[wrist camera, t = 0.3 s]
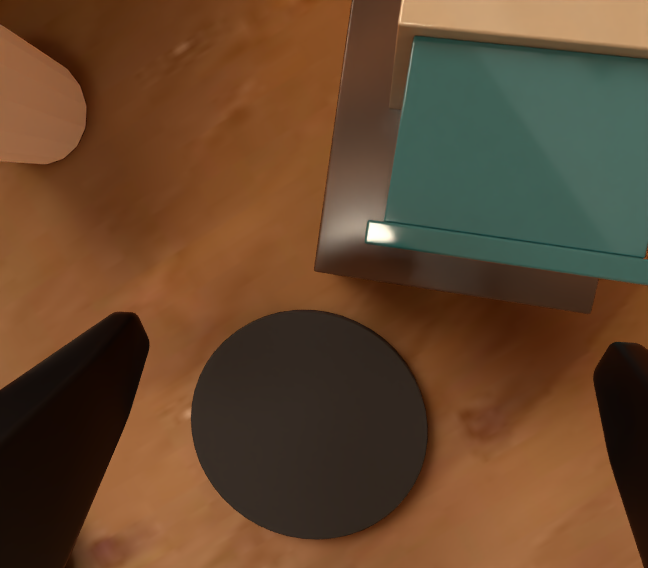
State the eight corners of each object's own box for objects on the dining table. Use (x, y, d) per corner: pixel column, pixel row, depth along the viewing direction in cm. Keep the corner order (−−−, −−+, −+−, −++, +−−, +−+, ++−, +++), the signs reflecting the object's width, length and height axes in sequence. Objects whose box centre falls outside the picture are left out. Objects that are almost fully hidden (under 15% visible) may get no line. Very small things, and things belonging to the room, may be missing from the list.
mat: (468, 480, 23) (470, 487, 23) (262, 563, 26) (259, 571, 25) (357, 267, 23) (357, 268, 22) (154, 371, 25) (149, 374, 24)
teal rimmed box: (547, 264, 17) (668, 288, 10) (367, 237, 17) (363, 244, 11) (593, 56, 16) (764, -78, 9) (399, 37, 16) (417, -103, 9)
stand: (542, 295, 22) (591, 314, 17) (326, 262, 23) (313, 271, 18) (592, 64, 20) (662, 11, 15) (358, 40, 21) (353, -17, 16)
